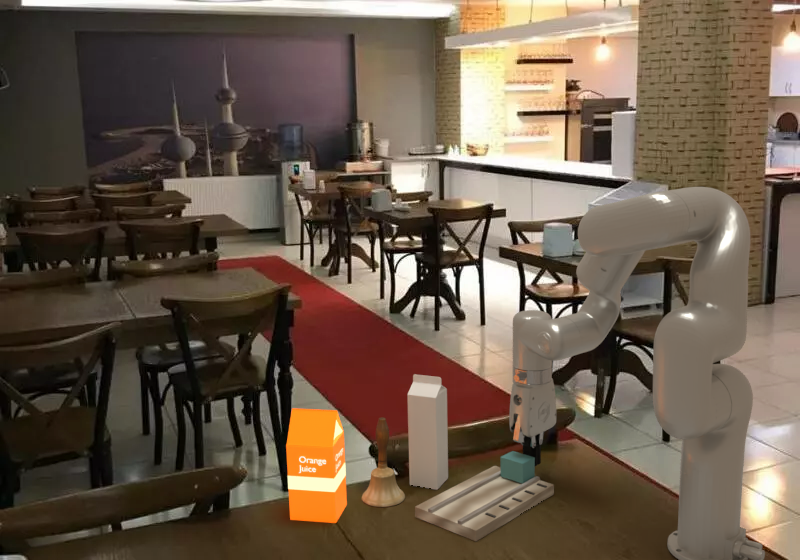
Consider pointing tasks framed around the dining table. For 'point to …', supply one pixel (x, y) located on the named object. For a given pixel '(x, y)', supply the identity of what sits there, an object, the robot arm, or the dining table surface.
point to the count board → (483, 503)
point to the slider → (517, 467)
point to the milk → (427, 432)
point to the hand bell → (382, 475)
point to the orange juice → (316, 465)
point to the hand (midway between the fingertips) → (531, 463)
